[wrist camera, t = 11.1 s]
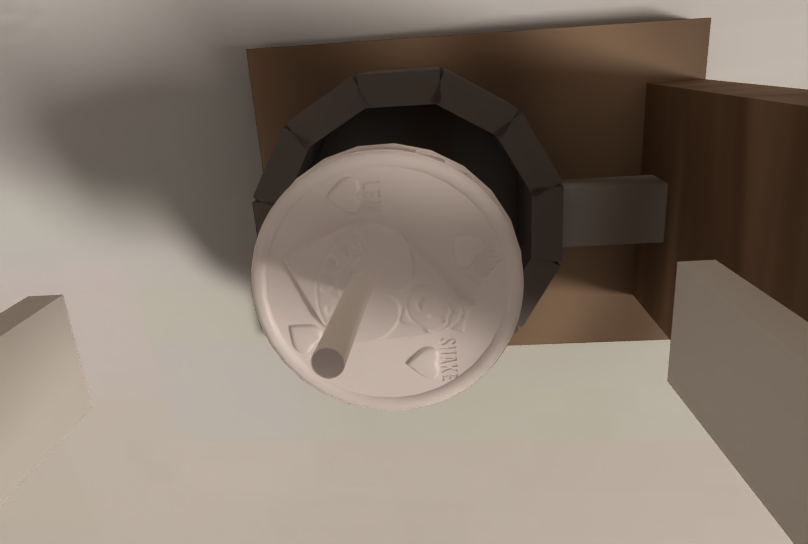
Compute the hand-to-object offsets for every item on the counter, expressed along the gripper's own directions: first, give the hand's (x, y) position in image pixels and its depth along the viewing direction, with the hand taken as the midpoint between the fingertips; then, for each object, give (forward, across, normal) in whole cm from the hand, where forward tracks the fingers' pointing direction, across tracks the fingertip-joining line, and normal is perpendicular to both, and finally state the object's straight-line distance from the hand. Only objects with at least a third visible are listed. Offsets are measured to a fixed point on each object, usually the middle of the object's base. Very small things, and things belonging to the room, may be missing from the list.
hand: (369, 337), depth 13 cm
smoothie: (+11, +1, 0) cm, 11 cm away
